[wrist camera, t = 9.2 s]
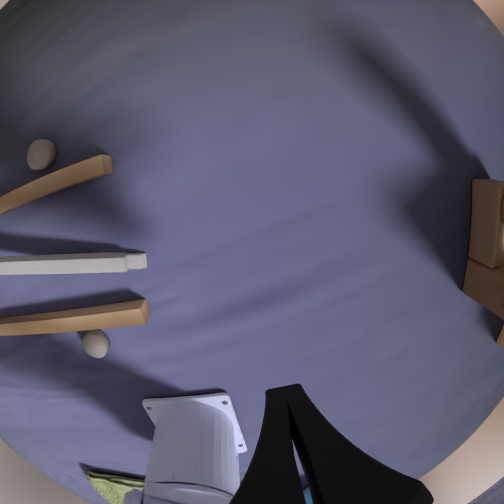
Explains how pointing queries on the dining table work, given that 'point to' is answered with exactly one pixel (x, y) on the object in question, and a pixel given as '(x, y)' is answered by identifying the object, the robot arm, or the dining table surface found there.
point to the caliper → (72, 263)
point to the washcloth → (113, 486)
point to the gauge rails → (74, 319)
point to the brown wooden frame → (486, 246)
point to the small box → (501, 338)
